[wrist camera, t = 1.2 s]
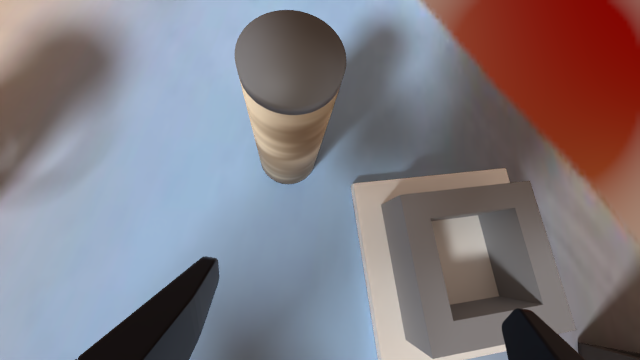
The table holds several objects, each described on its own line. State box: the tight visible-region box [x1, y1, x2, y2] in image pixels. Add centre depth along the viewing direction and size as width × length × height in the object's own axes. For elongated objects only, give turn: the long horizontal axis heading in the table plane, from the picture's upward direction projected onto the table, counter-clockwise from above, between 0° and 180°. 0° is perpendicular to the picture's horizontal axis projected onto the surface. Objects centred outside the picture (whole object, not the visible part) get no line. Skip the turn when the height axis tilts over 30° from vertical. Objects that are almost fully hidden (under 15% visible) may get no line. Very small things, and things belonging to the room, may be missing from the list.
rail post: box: [235, 10, 346, 184], centre depth 18 cm, size 5×5×13 cm
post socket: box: [351, 168, 576, 360], centre depth 21 cm, size 14×14×5 cm
